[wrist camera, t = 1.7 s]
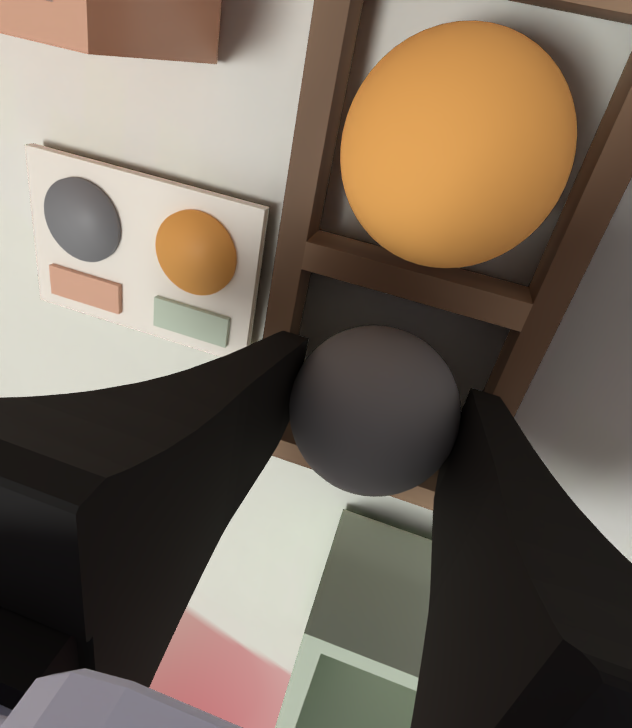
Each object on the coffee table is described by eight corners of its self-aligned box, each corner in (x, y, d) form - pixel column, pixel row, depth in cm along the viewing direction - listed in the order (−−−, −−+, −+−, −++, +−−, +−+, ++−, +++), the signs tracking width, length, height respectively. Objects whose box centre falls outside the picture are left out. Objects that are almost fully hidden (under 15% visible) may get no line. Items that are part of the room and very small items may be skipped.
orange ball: (596, 55, 9) (660, 40, 6) (514, 257, 10) (528, 329, 7) (389, 12, 9) (344, -23, 6) (345, 213, 11) (294, 262, 8)
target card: (269, 207, 11) (262, 211, 11) (248, 359, 13) (241, 367, 13) (34, 143, 12) (19, 145, 12) (48, 296, 14) (36, 301, 14)
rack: (703, -12, 8) (730, -24, 7) (463, 493, 14) (462, 520, 13) (343, -78, 9) (329, -95, 8) (260, 425, 14) (246, 446, 14)
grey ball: (486, 326, 11) (488, 415, 8) (435, 448, 13) (423, 558, 10) (330, 281, 12) (279, 350, 9) (303, 406, 14) (253, 498, 11)
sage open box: (550, 581, 14) (572, 737, 11) (475, 691, 17) (474, 839, 14) (343, 508, 15) (304, 632, 12) (307, 626, 18) (267, 751, 15)
